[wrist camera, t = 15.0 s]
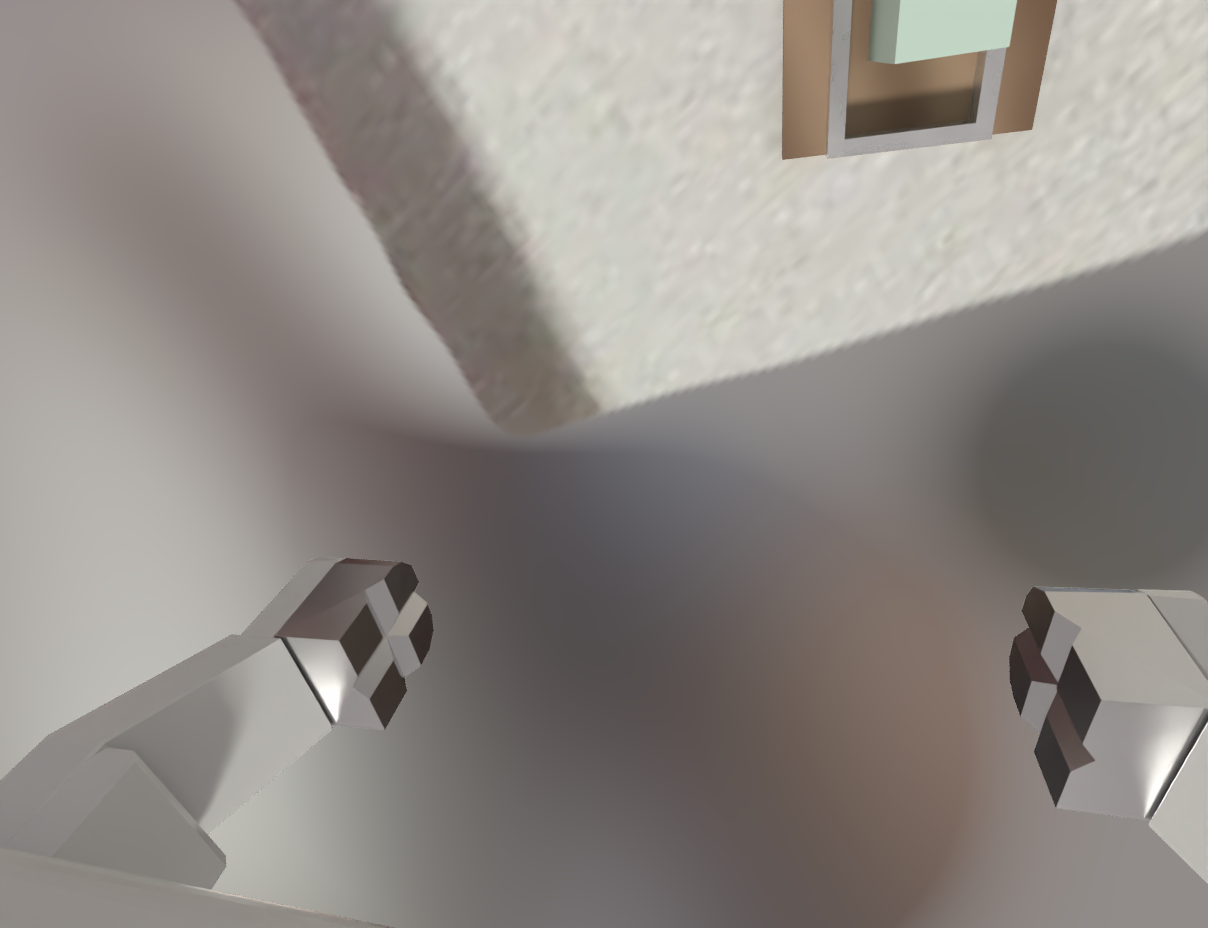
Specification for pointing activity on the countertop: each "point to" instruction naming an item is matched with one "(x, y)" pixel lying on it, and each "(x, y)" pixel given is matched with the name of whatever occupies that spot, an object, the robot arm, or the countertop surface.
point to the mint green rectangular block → (937, 28)
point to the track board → (900, 78)
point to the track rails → (913, 137)
